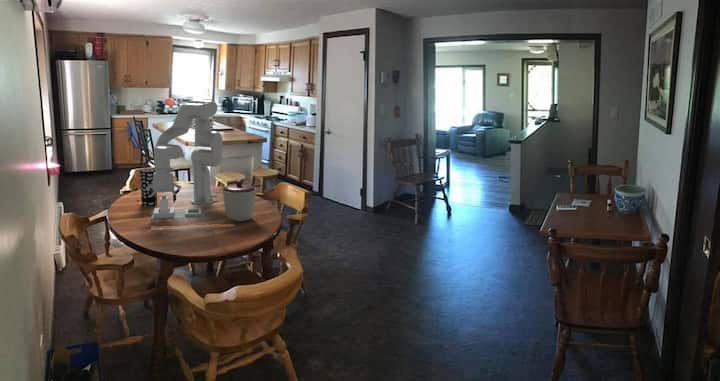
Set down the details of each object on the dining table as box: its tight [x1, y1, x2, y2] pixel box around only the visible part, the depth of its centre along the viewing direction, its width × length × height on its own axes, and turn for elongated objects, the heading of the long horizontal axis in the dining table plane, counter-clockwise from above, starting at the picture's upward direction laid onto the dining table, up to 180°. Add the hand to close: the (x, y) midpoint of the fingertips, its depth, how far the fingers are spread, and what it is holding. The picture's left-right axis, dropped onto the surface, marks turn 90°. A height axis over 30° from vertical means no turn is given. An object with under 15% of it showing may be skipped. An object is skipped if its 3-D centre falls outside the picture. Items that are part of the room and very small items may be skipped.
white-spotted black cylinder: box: [139, 168, 158, 208], centre depth 301 cm, size 8×8×20 cm
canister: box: [221, 180, 258, 223], centre depth 280 cm, size 18×18×21 cm
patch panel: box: [150, 206, 205, 222], centre depth 281 cm, size 26×14×4 cm, turn 107°
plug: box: [159, 195, 170, 212], centre depth 278 cm, size 4×6×10 cm, turn 17°
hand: (164, 202), depth 278 cm, fingers open, 9 cm apart
